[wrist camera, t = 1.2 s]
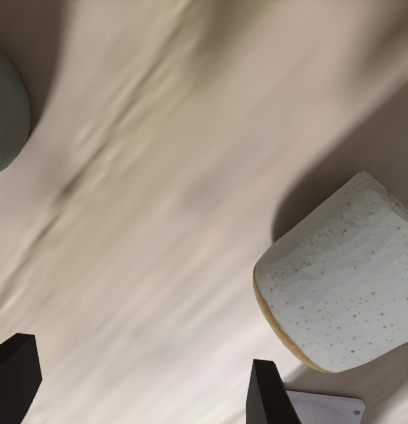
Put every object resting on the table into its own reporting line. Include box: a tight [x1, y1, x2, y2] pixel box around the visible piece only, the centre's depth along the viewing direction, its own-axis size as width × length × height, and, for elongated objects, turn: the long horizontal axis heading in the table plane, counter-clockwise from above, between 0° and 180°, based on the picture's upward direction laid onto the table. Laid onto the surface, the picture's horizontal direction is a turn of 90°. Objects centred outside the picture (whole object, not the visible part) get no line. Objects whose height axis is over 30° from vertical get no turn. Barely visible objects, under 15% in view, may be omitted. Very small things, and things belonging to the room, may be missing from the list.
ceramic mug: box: [253, 171, 408, 373], centre depth 17 cm, size 11×8×8 cm
